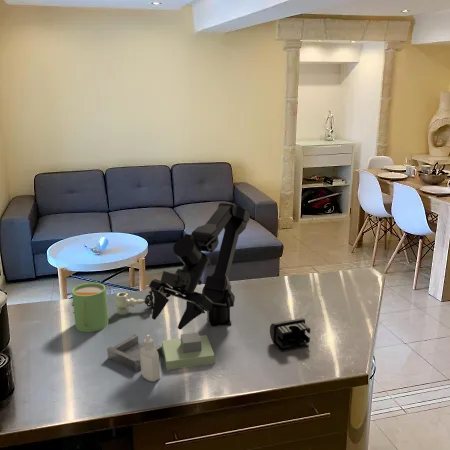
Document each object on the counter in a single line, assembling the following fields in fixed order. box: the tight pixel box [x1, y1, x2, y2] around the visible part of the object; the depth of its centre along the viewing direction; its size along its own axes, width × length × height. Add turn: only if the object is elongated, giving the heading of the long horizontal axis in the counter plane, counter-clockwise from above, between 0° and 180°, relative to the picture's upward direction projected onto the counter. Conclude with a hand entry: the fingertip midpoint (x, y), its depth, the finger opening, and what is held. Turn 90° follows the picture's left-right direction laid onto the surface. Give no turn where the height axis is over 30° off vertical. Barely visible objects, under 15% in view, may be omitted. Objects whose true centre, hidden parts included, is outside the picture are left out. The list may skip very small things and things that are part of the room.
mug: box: [71, 282, 109, 333], centre depth 152 cm, size 13×10×12 cm
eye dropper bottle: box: [140, 334, 161, 383], centre depth 125 cm, size 4×6×12 cm
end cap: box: [269, 317, 311, 353], centre depth 141 cm, size 10×7×7 cm
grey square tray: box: [106, 334, 164, 372], centre depth 136 cm, size 10×11×3 cm
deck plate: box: [161, 332, 216, 371], centre depth 136 cm, size 13×11×6 cm
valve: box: [115, 290, 154, 316], centre depth 162 cm, size 7×7×12 cm
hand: (165, 323), depth 128 cm, fingers open, 9 cm apart
